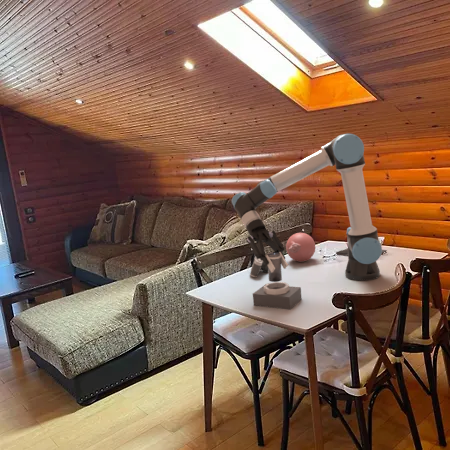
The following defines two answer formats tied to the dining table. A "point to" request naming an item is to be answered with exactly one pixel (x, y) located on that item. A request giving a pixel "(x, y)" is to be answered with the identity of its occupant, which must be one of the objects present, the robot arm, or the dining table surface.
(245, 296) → the dining table surface
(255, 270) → the camera
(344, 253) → the picture frame
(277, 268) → the lens
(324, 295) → the dining table surface
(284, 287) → the grey block socket
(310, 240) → the pink star-marked ball
